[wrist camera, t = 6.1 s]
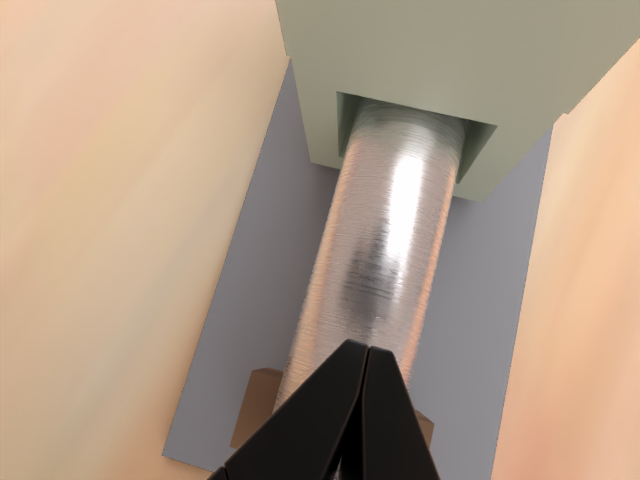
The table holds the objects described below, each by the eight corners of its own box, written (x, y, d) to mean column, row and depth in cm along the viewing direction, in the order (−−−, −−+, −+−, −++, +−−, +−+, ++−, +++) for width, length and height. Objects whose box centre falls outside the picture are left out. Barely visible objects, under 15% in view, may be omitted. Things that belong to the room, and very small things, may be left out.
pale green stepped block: (484, 203, 15) (807, -143, 5) (307, 161, 16) (231, -222, 5) (506, 95, 16) (819, -405, 5) (337, 60, 17) (323, -444, 6)
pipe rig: (471, 548, 14) (561, 690, 8) (168, 451, 15) (55, 514, 9) (572, -16, 19) (678, -188, 13) (333, -59, 20) (327, -234, 14)
